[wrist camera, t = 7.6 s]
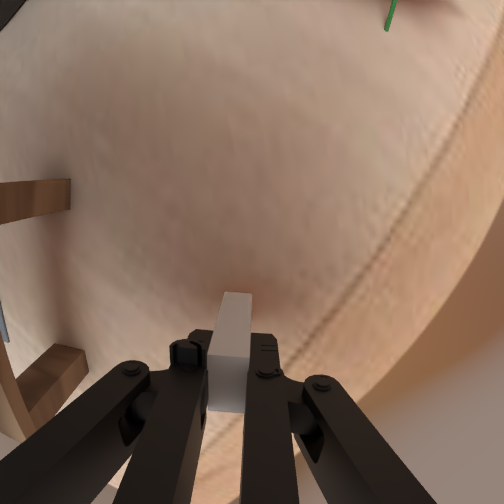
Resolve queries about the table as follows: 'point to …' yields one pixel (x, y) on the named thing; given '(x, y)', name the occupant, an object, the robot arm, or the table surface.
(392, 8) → the lily
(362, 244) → the table surface
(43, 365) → the bridge
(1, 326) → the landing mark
